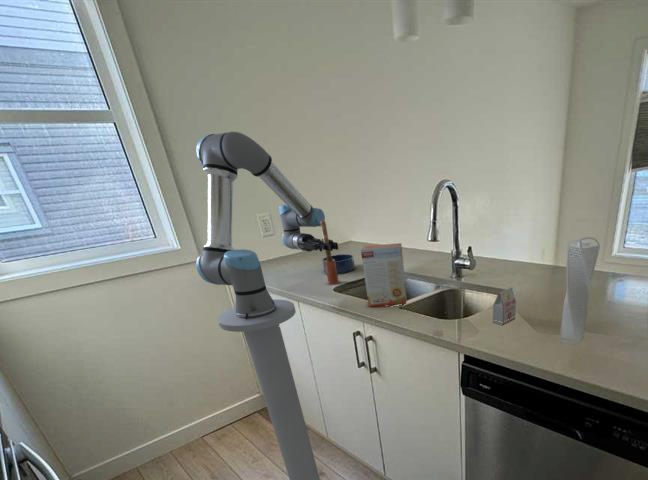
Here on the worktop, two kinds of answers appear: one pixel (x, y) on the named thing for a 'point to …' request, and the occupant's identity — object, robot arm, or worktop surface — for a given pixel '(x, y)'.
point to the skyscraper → (578, 288)
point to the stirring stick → (325, 239)
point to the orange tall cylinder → (331, 271)
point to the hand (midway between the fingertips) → (334, 246)
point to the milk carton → (504, 307)
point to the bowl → (342, 263)
